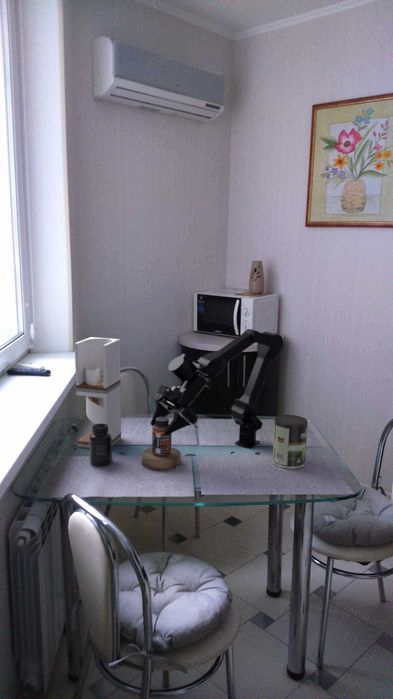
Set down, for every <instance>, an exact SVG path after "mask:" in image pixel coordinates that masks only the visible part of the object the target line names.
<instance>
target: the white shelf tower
mask: <svg viewBox="0 0 393 699" xmlns="http://www.w3.org/2000/svg"><path fill="white" fill-rule="evenodd" d="M74 361H75V362H74V364H75V390H76V391H75V395H76V396H81V397H82V396H83V397H85V405H86V408H85V411H86V412H85V413H86V414H85V415H86V416H87V419H89V421H90V422H92V423H93V425H95V424H107V425H108V433H110V434H111V436H112V447H113V446H114V445H115V444H116V443H118V442H119V441H120V440H121V439H122V402H121V401H122V399H121V398H122V397H121V396H122V395H121V393H122V392H121V390H122V388H121V386H122V385H121V381H122V380H121V339H120V338H110V337H107V338H106V337H96V336H95V337H92V336H91V337H88V338H85V339H82V340H79V341H77V342H75V343H74ZM91 434H92V430H90V431H89V432H88V433H86V434H85V435H84V436H82V437H80V438H79V439H78V440H77V448H78V447H79V448H86V449H90V447H89V437H90V435H91Z"/></svg>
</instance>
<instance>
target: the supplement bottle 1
mask: <svg viewBox="0 0 393 699" xmlns="http://www.w3.org/2000/svg"><path fill="white" fill-rule="evenodd" d="M89 447H90V448H89V463H90V465H91V466H94V467H100V468H101V467H106V466H109V465H111V464H112V461H113V446H112V436H111V434H110V433H108V425H107V424H93V425H92V434H91V435H90V437H89Z"/></svg>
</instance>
